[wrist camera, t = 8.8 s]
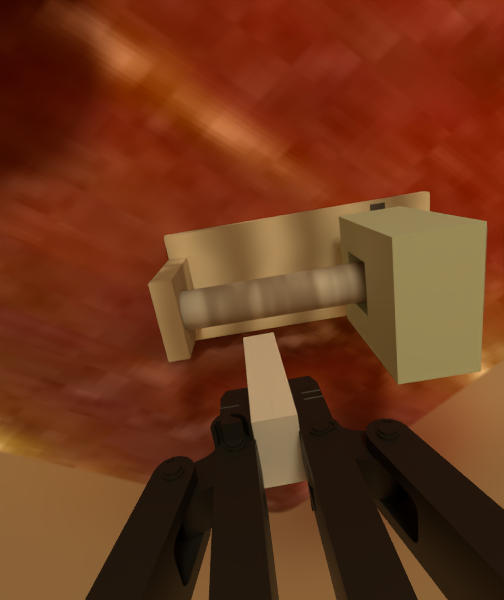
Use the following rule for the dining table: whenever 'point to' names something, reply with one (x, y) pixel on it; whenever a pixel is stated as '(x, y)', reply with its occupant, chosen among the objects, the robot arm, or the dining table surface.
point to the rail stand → (260, 274)
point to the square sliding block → (418, 289)
